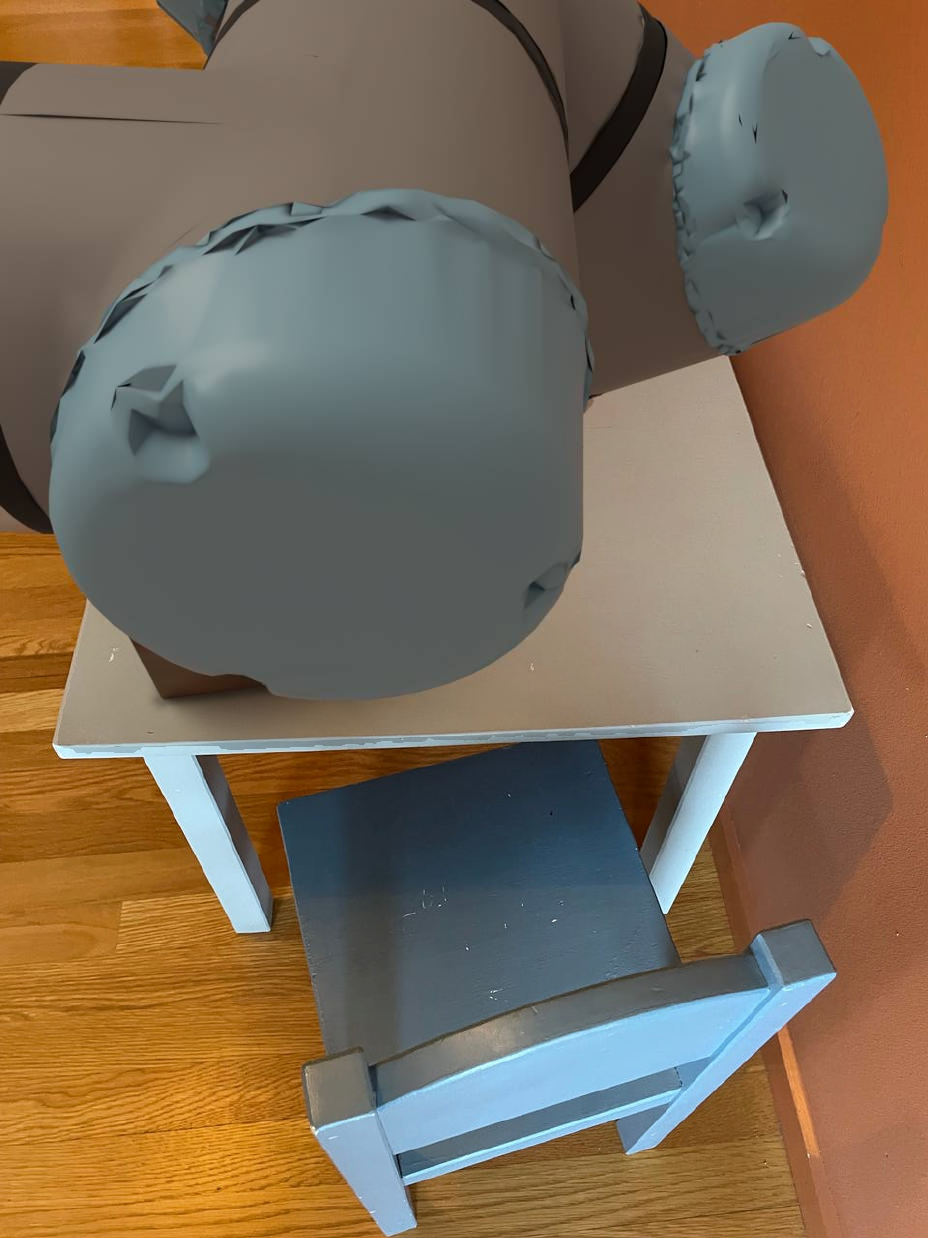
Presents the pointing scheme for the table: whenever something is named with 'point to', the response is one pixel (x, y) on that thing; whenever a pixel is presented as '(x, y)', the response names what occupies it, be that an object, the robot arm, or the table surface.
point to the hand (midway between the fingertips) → (263, 444)
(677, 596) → the table surface
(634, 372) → the robot arm
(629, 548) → the table surface
